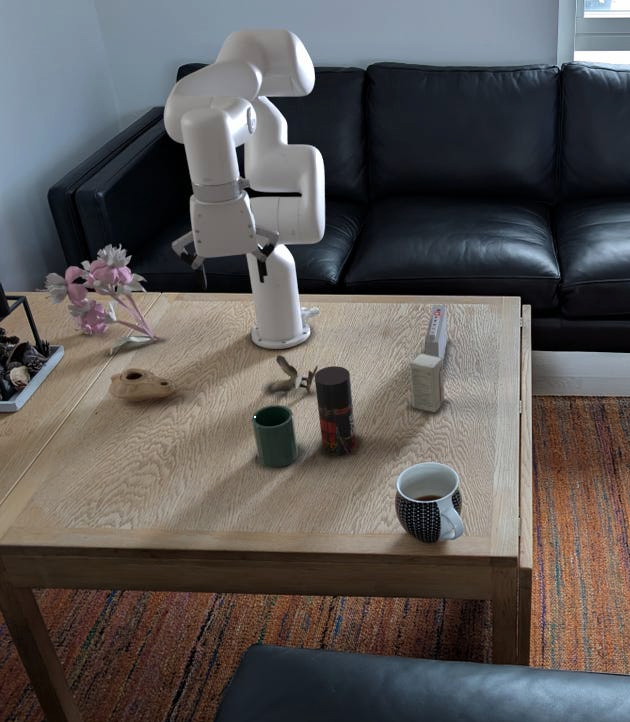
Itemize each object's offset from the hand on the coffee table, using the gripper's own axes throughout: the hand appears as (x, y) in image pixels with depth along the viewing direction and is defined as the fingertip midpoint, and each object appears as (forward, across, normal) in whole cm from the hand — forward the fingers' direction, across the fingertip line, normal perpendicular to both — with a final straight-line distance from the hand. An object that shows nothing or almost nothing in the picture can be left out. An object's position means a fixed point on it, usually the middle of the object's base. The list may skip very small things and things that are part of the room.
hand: (233, 283), depth 143 cm
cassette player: (+28, -38, -9) cm, 48 cm away
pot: (+27, -3, +15) cm, 31 cm away
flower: (+28, +30, -37) cm, 55 cm away
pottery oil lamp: (+28, +21, -10) cm, 36 cm away
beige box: (+28, -32, +6) cm, 43 cm away
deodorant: (+28, -14, +15) cm, 34 cm away
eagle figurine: (+28, -7, -6) cm, 30 cm away
